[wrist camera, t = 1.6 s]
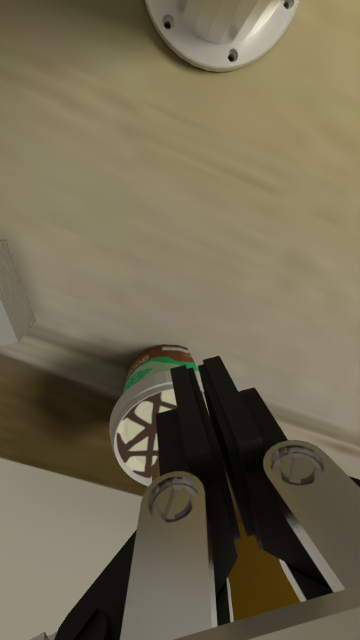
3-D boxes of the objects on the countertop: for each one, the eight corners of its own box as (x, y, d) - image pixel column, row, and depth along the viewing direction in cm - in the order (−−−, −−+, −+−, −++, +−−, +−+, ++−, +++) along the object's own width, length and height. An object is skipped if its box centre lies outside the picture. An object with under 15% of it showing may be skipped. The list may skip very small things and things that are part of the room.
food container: (142, 315, 34) (143, 360, 25) (193, 337, 36) (211, 387, 27) (98, 405, 38) (85, 474, 29) (146, 421, 40) (148, 491, 30)
